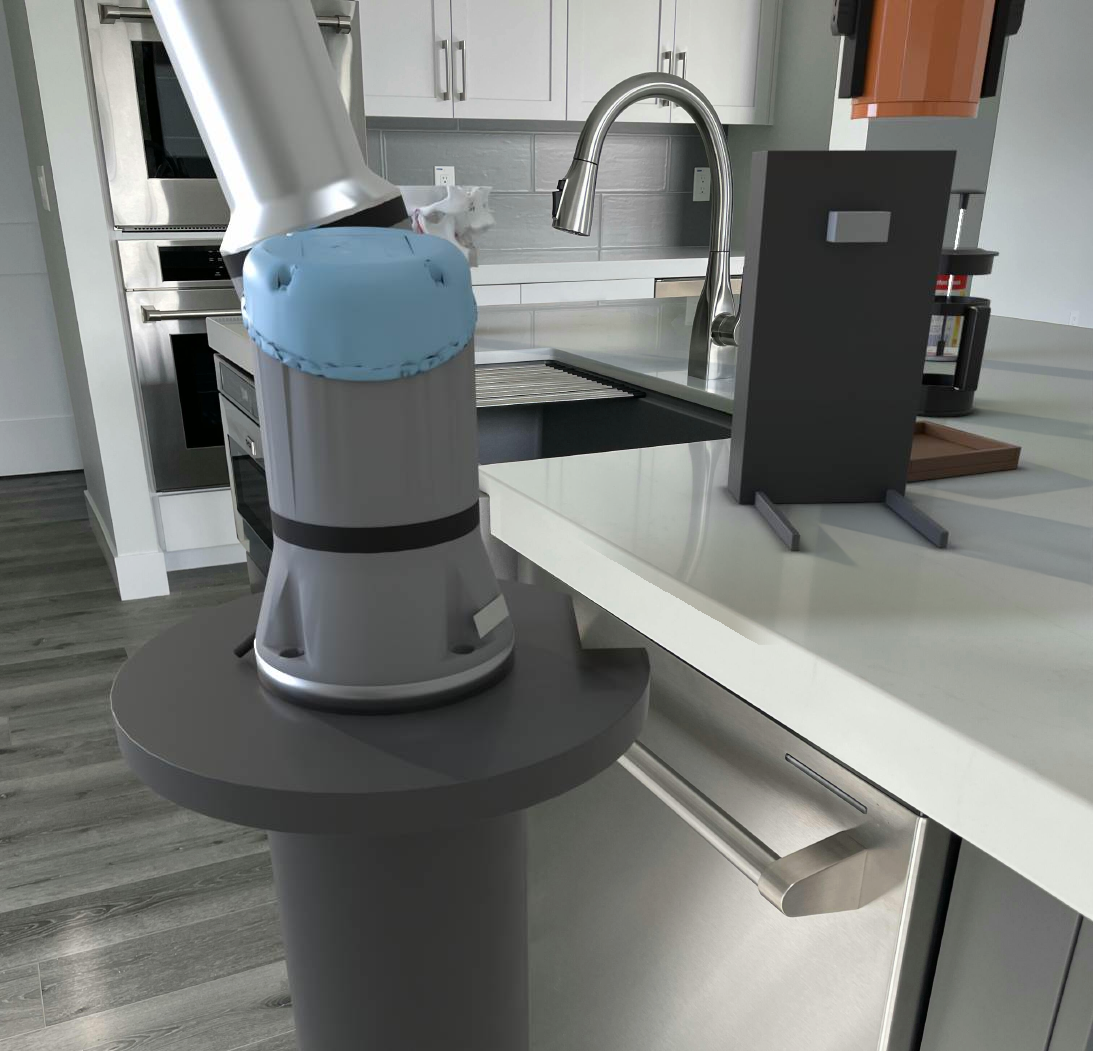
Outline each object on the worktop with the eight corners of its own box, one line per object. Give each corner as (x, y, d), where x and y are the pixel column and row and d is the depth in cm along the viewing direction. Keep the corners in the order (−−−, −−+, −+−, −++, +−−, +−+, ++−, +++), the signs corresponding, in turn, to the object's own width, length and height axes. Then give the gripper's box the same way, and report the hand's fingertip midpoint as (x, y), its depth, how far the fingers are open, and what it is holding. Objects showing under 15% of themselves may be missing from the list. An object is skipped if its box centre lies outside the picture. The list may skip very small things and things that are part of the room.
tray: (903, 482, 96) (906, 460, 95) (815, 451, 106) (817, 431, 106) (1017, 468, 100) (1021, 446, 99) (921, 440, 111) (925, 420, 110)
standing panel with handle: (774, 550, 79) (814, 146, 67) (726, 488, 94) (752, 151, 82) (962, 547, 79) (1035, 145, 67) (884, 486, 95) (932, 151, 83)
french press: (870, 403, 129) (898, 188, 118) (936, 398, 131) (970, 187, 121) (929, 422, 119) (966, 189, 108) (1000, 416, 121) (1043, 189, 111)
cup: (871, 116, 66) (896, -86, 61) (835, 121, 73) (855, -60, 68) (996, 116, 66) (1030, -85, 62) (949, 122, 73) (976, -59, 68)
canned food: (939, 352, 165) (952, 267, 160) (963, 360, 158) (978, 271, 153) (890, 353, 164) (902, 268, 159) (913, 361, 157) (926, 272, 152)
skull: (344, 340, 179) (331, 186, 168) (369, 326, 196) (359, 185, 185) (493, 341, 177) (490, 186, 167) (506, 327, 194) (503, 184, 183)
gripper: (1130, -355, 62) (1046, 101, 73) (776, -362, 61) (743, 100, 72) (1207, -418, 55) (1103, 94, 66) (811, -427, 55) (769, 93, 65)
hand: (915, 97), depth 69 cm, fingers closed on cup, 8 cm apart
